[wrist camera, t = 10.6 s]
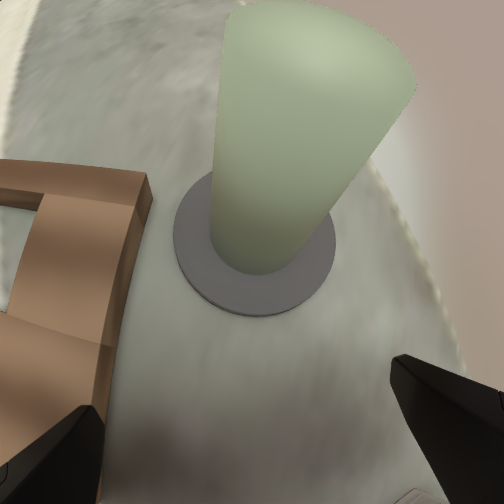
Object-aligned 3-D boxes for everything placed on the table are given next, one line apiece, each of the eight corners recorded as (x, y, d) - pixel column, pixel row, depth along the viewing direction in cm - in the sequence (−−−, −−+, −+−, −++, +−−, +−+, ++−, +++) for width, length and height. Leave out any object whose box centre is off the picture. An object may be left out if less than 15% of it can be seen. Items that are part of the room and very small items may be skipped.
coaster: (325, 326, 19) (331, 324, 18) (159, 300, 18) (156, 297, 17) (331, 186, 22) (336, 179, 21) (193, 160, 21) (193, 151, 20)
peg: (265, 294, 18) (379, 145, 6) (190, 235, 18) (180, 32, 6) (316, 227, 20) (432, 66, 8) (247, 176, 20) (294, -11, 8)
